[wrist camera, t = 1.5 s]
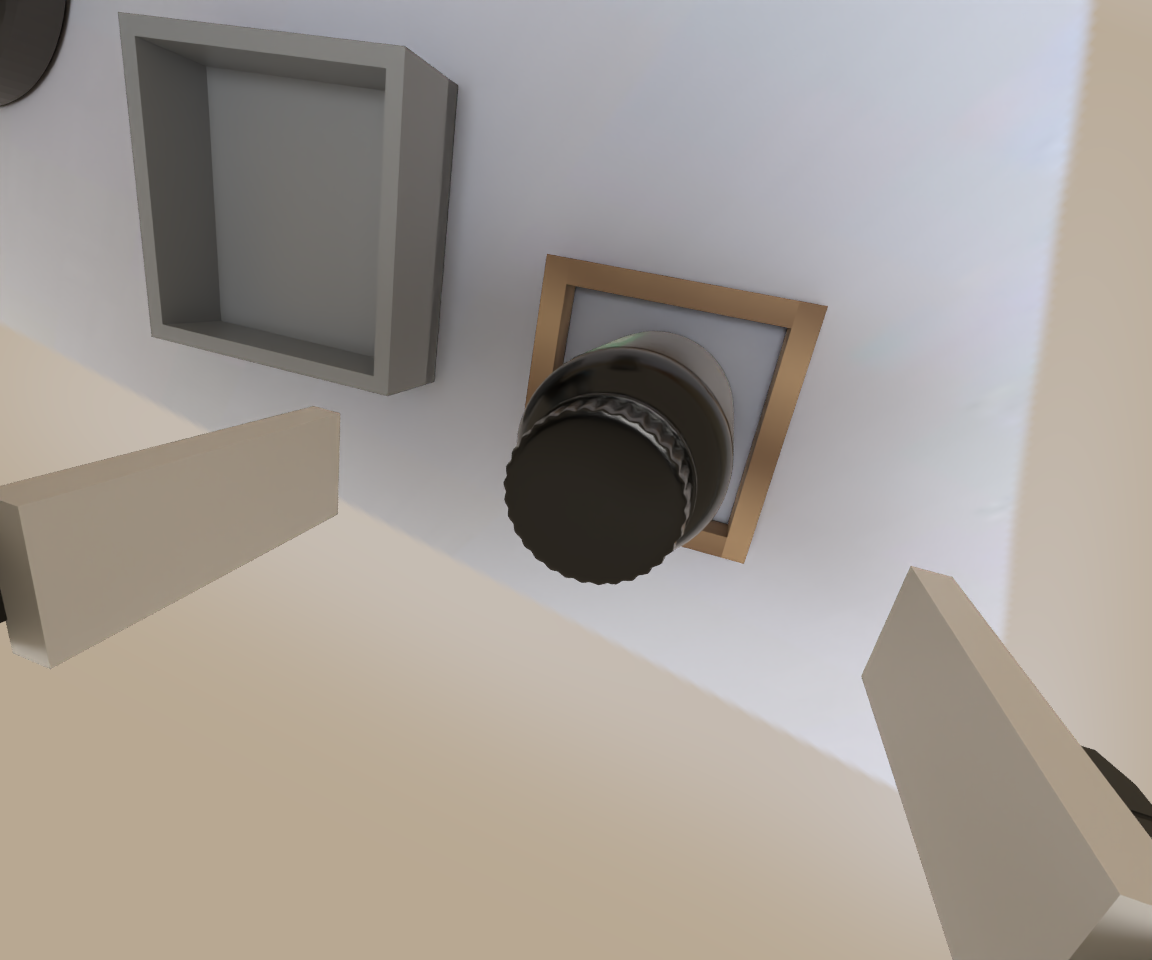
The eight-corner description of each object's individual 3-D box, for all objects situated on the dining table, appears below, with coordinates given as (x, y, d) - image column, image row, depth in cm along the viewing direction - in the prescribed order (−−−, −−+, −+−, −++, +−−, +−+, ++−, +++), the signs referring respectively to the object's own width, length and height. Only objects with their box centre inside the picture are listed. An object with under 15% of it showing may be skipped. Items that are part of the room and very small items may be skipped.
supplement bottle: (597, 313, 24) (484, 332, 13) (754, 350, 23) (773, 404, 12) (567, 458, 27) (451, 575, 16) (708, 498, 26) (688, 655, 15)
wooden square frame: (557, 256, 24) (546, 253, 22) (821, 305, 22) (827, 306, 20) (522, 489, 28) (511, 499, 26) (743, 549, 26) (743, 563, 24)
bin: (207, 52, 25) (117, 12, 21) (457, 85, 23) (405, 46, 19) (223, 331, 30) (151, 336, 26) (434, 381, 27) (387, 396, 24)
